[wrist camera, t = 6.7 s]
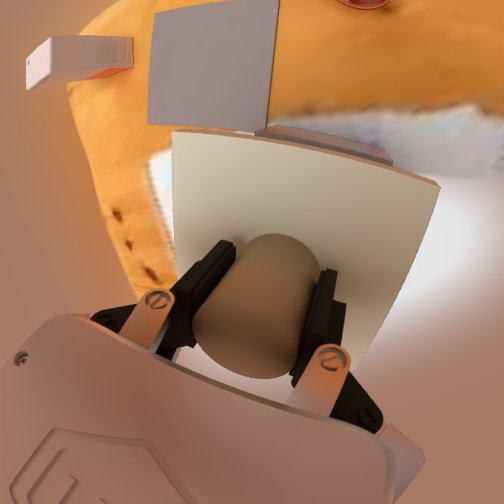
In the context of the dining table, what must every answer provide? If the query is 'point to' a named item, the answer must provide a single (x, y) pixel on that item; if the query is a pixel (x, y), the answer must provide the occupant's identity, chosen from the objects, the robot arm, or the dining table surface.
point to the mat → (213, 65)
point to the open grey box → (326, 142)
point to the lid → (291, 241)
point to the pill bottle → (365, 3)
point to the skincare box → (77, 59)
